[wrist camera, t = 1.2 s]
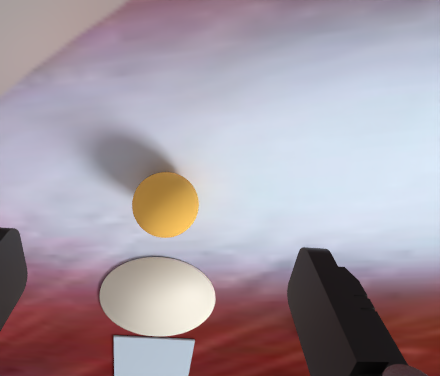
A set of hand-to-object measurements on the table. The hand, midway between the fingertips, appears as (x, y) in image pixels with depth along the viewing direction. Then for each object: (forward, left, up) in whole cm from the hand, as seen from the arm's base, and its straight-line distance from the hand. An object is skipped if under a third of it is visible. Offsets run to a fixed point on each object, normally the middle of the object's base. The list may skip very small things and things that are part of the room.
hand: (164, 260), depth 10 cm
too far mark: (+36, -1, -19) cm, 40 cm away
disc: (+24, -1, -19) cm, 30 cm away
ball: (+9, -1, -16) cm, 18 cm away
